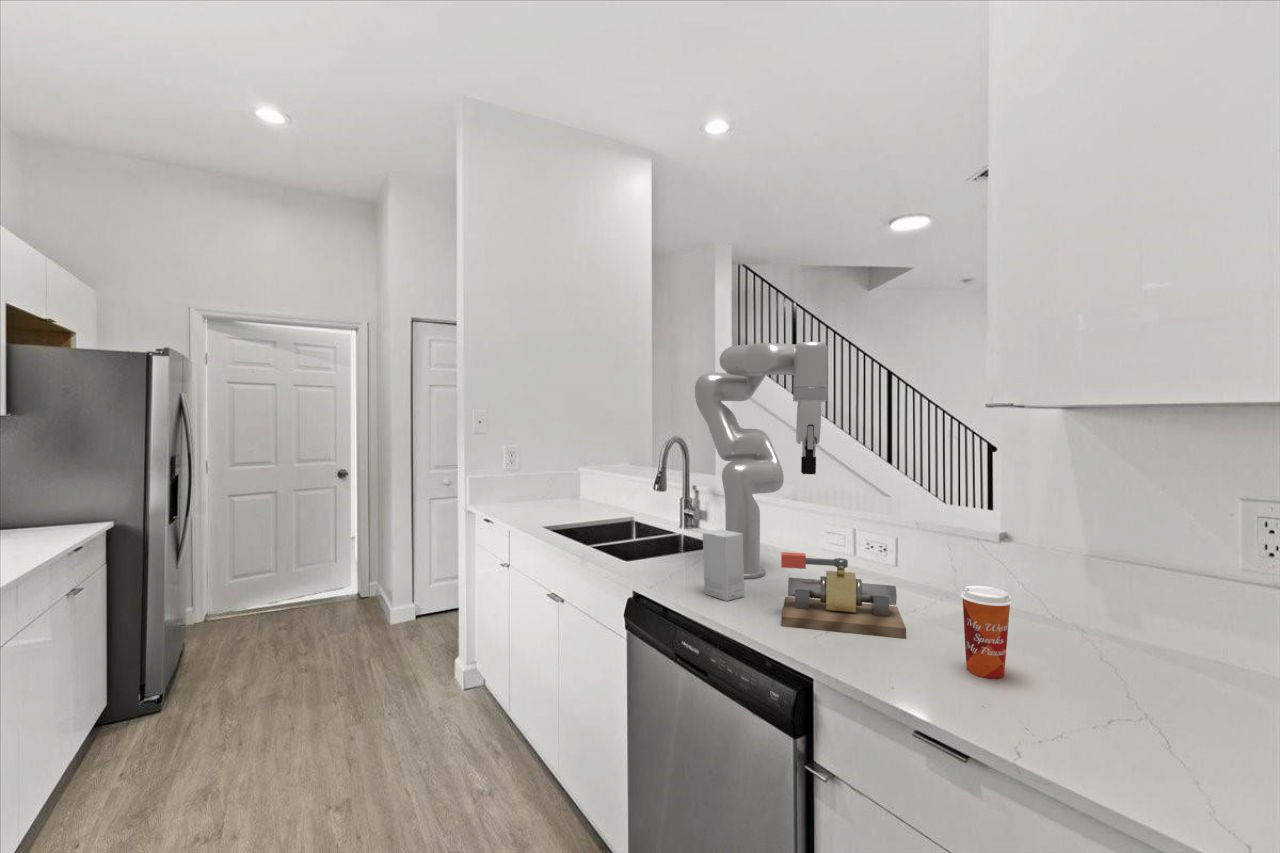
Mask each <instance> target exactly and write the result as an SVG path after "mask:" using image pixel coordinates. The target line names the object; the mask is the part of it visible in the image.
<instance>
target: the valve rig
mask: <svg viewBox="0 0 1280 853" xmlns="http://www.w3.org/2000/svg"><path fill="white" fill-rule="evenodd" d="M845 570H846V568H838V567H836V571H835V570H834V571H833V570H825V576H822V575H820V579H814V578H801V577H788V580H787V582H788V585H787V593H788V594H787V596H785V598H784V601H783V608H782V611H781V626H782V627H788V628H789V627H790V628H796V629H797V628H800V629H809V630H817V631H819V630H820V631H829V632H837V633H839V632H840V633H849V634H857V635H867V636H877V637H887V638H897V639H898V638H899V639H907V627H906V625H905V623H904V620H903V618H902V615H901V612H900V611H899V607H898V606H896V605H897V596H898V595H897V586H896V585H892V584H877V583H867V582H866V583H864V582H862V579H861V578H856V573H855V572H852V571H851V572H849V571H845Z"/></svg>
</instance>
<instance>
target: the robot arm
mask: <svg viewBox="0 0 1280 853" xmlns="http://www.w3.org/2000/svg"><path fill="white" fill-rule="evenodd" d="M828 356H829V355H828V345H827V344H826V343H825V342H822V341H804V342H803V341H802V342H801V341H800V342H798V343H797V344H794V343H793V344H792V343H772V342H769V343H768V342H767V343H766V342H764V343H752V344H740V345H739V344H738V345H737V344H736V345H731V346H729V347H726V348H725V349H724V350H723V351H722V352H721V354H720V357H719V366H720V368H721V369H722V370H723V371H724V372H708V373H705V374H702V375H701V376H700V377H698V378H697V380H696V382H695V385H694V398H695V399H694V400H695V403H696V405H697V409H698V411H699V412H700V414H701V416H702V417H703V419H704V421H705V423H706V424H707V427H708V429H709V433H710V436H711V438H712V441H713V444H714V446H715V447H714V448H715V449H716V452H717V454H718V455H719V458H721V459H722V460H723V461H726V462H728V463H727V464H725V465H724V467H723V469H722V471H721V481H722V486H723V493H724V505H725V509H724V510H725V530H727V531H732V532H737V533H742V534H743V561H744V579H755V578H761V577H763V576H765V575H766V568H764V567H763V566H761V558H760V556H761V553H760V552H761V545H760V544H761V542H760V541H761V538H760V537H761V513H760V512H761V511H760V508H759V504H758V502H757V501H756V500H755V498H754V496H753V495H756V494H769V493H776V492H777V491H780V490H781V488H782V487H783V484H784V481H785V480H784V479H785V477H784V471H783V467H782V465H781V463H780V460H779V458H778V455H777V453H776V451H775V449H774V446H773V443H772V441H771V439H770V437H769V435H768V434H767V433H766V432H764V431H763V430H762V429H759V428H743V427H741V426H740V425H739V422H738V421H737V418H736V417H737V416H736V415H735V414H734V413H733V411H732V410H731V409H730V408H729V407H728V406H727V405H726V404H724V403H723V402H745V401H747V400H750V398H752V396H753V395H755V392H756V391H757V390H758V388H759V386H760V385H762V382H763V381H764V379H765V377H766V376H767V375H773V376H775V375H777V376H793V384H792V385H793V389H792V390H793V392H792V393H793V394H792V396H793V397H792V402H797V406H796V433H795V434H796V436H795V442H796V443H797V444H798V445H801V444H802V445H801V446H802V448H801V449H802V450H801V451H802V453H801V455H802V456H801V458H800V459H801V460H800V461H801V463H800V464H801V465H800V466H801V467H800V468H801V469H800V472H801V474H802V475H816V474H817V472H816V471H817V457H816V452H817V451H816V449H817V448H816V447H817V445H818V444H820V438H821V427H822V426H821V425H822V402H827V400H828V396H827V394H828ZM801 442H802V443H801Z"/></svg>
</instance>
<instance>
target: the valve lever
mask: <svg viewBox="0 0 1280 853" xmlns="http://www.w3.org/2000/svg"><path fill="white" fill-rule="evenodd" d="M780 555H781V557H780V558H781V560H780V565H781V568H784V569H786V568H787V569H801V570H806V568H807V566H806V565H812V566H813V565H814V566H830V567H831V566H833V567H836V568H837V567H838V568H845V569H846V568H848V567H849V566H848V564H849V563H848V562H849V561H848V559H846V558H840V557H839V558H837V557H836V558H830V559H829V558H814V557H813V558H811V557H807V556H806V555H807V554H806V553H803V552H801V553H800V552H784V551H781V553H780Z"/></svg>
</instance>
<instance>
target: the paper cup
mask: <svg viewBox="0 0 1280 853" xmlns="http://www.w3.org/2000/svg"><path fill="white" fill-rule="evenodd" d="M960 597H961V598H962V610H963V631H964V632H963V633H964V649H965V662H966V663H965V665H966V670H967V671H968V672H969V673H970V674H973V675H975V676H977V677H980V678H983V679H989V680H990V679H992V680H997V679H1002V678H1003V677H1004V675H1005V669H1006V658H1007V648H1008V634H1009V619H1010V607H1011V605H1012V604H1013V603H1014V601H1013V600H1012V599H1011V598H1012V597H1011V595H1009V593H1008V592H1007V591H1006V590H1002V589H1001V588H997V587H992V586H987V585H986V586H985V585H967V586H965V587H963V591H962V592H961V593H960Z"/></svg>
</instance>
